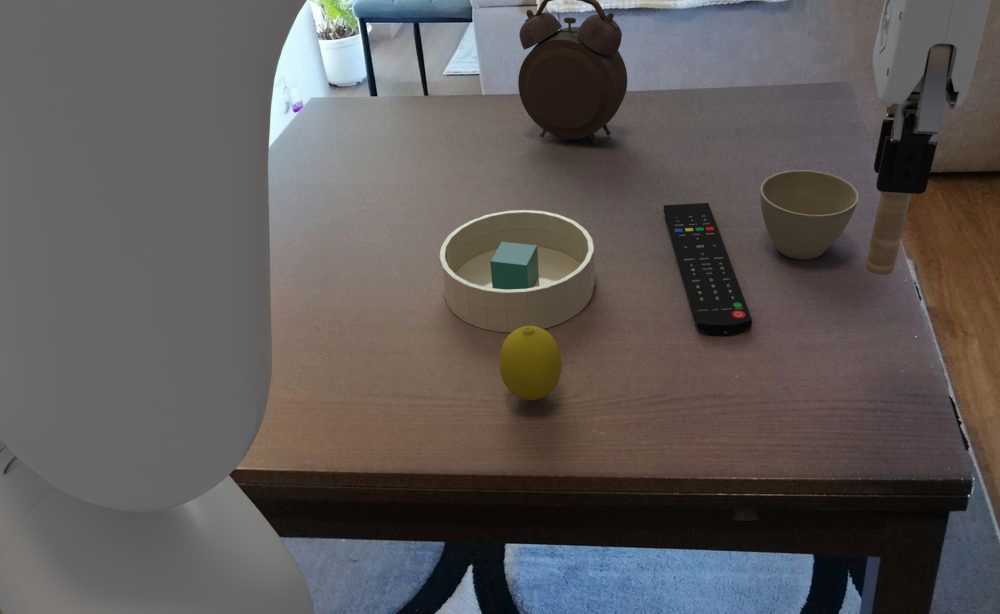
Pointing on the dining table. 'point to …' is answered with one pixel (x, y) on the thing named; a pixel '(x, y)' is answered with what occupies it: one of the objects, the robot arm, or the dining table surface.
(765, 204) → the flower pot
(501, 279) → the block
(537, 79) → the alarm clock
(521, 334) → the lemon
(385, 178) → the dining table surface
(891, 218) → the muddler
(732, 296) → the remote control
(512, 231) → the bowl
